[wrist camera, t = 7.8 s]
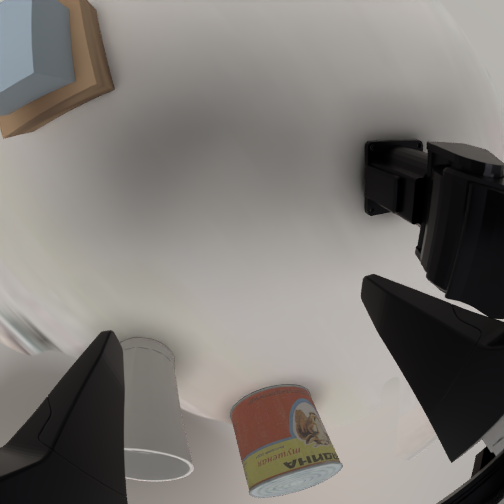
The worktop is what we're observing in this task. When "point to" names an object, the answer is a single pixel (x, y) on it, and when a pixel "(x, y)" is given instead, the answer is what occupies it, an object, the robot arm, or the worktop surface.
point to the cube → (33, 51)
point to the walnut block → (85, 69)
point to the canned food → (282, 441)
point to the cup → (152, 414)
